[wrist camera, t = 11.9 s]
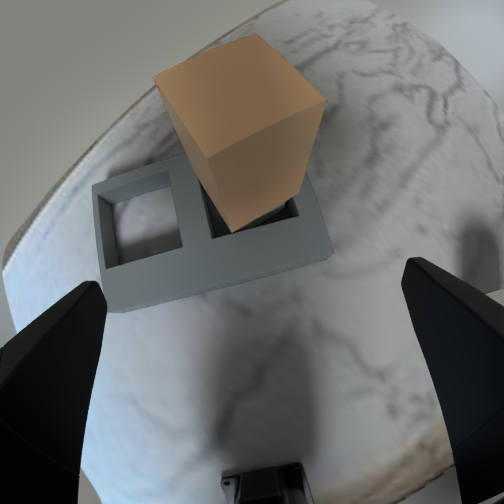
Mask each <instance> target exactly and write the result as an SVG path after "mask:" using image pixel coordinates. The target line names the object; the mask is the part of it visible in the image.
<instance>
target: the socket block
mask: <svg viewBox="0 0 504 504" xmlns="http://www.w3.org/2000/svg"><path fill="white" fill-rule="evenodd" d="M170 185H171V189H172V194H173V199H174V205H175V210H176V215H177V220H178V225H179V230H180V235H181V239H182V244H183V247H182V248H178V249H175V250H171V251H168V252H164V253H161V254H157V255H154V256H150V257H147V258H143V259H140V260H136V261H133V262H129V263H126V264H123V265H119V262H118V256H117V249H116V242H115V234H114V226H113V218H112V209H111V205H113V204H116V203H119V202H121V201H124V200H127V199H130V198H133V197H136V196H139V195H142V194H145V193H148V192H151V191H154V190H157V189H161V188H164V187H167V186H170ZM92 200H93V214H94V225H95V235H96V244H97V252H98V260H99V267H100V274H101V280H102V286H103V292H104V297H105V299H106V301H107V306H108V309H107V312H109V313H124V312H128V311H133V310H137V309H141V308H145V307H149V306H153V305H157V304H161V303H165V302H169V301H174V300H177V299H181V298H185V297H189V296H193V295H197V294H201V293H205V292H209V291H213V290H217V289H220V288H224V287H228V286H232V285H236V284H239V283H243V282H247V281H251V280H254V279H258V278H262V277H265V276H269V275H273V274H276V273H280V272H283V271H287V270H291V269H294V268H298V267H301V266H305V265H308V264H312V263H315V262H319V261H322V260H326V259H327V258H329V257H330V256H331V255H332V254H333V253H334V251H333V247H332V244H331V241H330V238H329V235H328V232H327V229H326V226H325V223H324V220H323V217H322V214H321V211H320V208H319V205H318V203H317V200H316V197H315V194H314V191H313V189H312V186H311V183H310V180H309V178H308V175H307V172H306V171H305V175H304V178H303V181H302V184H301V187H300V191H299V194H297V195H295V196H294V197H292V198H290V199H289V200H287V202H288V205H289V208H290V211H291V214H292V217H293V218H290V219H286V220H282V221H278V222H275V223H271V224H267V225H263V226H259V227H255V228H252V229H248V230H244V231H240V232H237V233H233V234H229V235H226V236H222V237H218V238H215V237H214V232H213V228H212V224H211V220H210V216H209V212H208V207H207V203H206V199H205V195H204V190H203V186H202V184H201V182H200V181H199V179H198V177H197V176H196V174H195V172H194V170H193V168H192V166H191V163H190V161H189V159H188V157H187V155H186V153H183V154H180V155H177V156H174V157H170V158H167V159H164V160H161V161H158V162H155V163H152V164H149V165H146V166H143V167H140V168H137V169H134V170H131V171H128V172H126V173H123V174H120V175H117V176H115V177H112V178H109V179H107V180H104V181H102V182H99V183H97V184H94V185H92Z"/></svg>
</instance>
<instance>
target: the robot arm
mask: <svg viewBox="0 0 504 504" xmlns="http://www.w3.org/2000/svg"><path fill="white" fill-rule="evenodd" d="M401 286H402V291H403V294H404V297H405V300H406V303H407V307H408V310H409V314H410V317H411V321H412V324H413V327H414V331H415V333H416V336H417V339H418V341H419V344H420V347H421V349H422V352H423V355H424V358H425V360H426V363H427V366H428V369H429V372H430V375H431V378H432V381H433V384H434V387H435V390H436V393H437V397H438V400H439V403H440V406H441V410H442V413H443V417H444V421H445V424H446V428H447V432H448V436H449V440H450V444H451V448H452V451H453V452H452V453H453V458H454V462H455V467H456V472H457V477H458V483H459V488H460V494H461V500H462V504H478V503H480V502H483V501H485V500H487V499H490V498H491V497H494V496H496V495H498V494H501V493H503V492H504V306H503V305H501V304H500V303H498V302H496V301H495V300H493V299H492V298H490V297H489V296H487V295H485V294H484V293H482V292H480V291H479V290H477V289H476V288H474V287H472V286H471V285H469V284H467V283H466V282H464V281H462V280H461V279H459V278H457V277H456V276H454V275H452V274H450V273H449V272H447V271H445V270H443V269H442V268H440V267H438V266H436V265H435V264H433V263H431V262H429V261H427V260H426V259H424V258H422V257H413V258H409V259H408V260H407V262H406V266H405V269H404V273H403V277H402V281H401ZM107 309H108V306H107V301H106V299H105V297H104V294H103V292H102V290H101V288H100V285H99V283H98V282H97V281H84V282H83V283H81V284H80V285H78V286H77V287H76V288H74V289H73V290H72V291H71V292H69V293H68V294H67V295H65V296H64V297H63V298H61V299H60V300H59V301H57V302H56V303H55V304H54V305H52V306H51V307H50V308H49V309H47V310H46V311H45V312H43V313H42V314H41V315H40V316H39V317H37V318H36V319H35V320H34V321H32V322H31V323H30V324H29V325H27V326H26V327H25V328H24V329H23V330H21V331H20V332H19V333H18V334H17V335H16V336H14V337H13V338H12V339H11V340H10V341H8V342H7V343H6V344H5V345H4V347H1V348H0V504H78V488H79V477H80V476H79V474H80V465H81V456H82V448H83V441H84V434H85V427H86V421H87V415H88V410H89V404H90V399H91V394H92V389H93V384H94V379H95V375H96V370H97V366H98V362H99V357H100V353H101V347H102V340H103V334H104V327H105V321H106V315H107ZM295 467H299V469H297V470H294V468H295ZM225 481H228V482H230V483H225ZM221 486H222V489H223V491H224V493H225V496H226V498H227V500H228V503H229V504H313V501H312V498H311V494H310V491H309V487H308V484H307V480H306V477H305V473H304V470H303V467H302V464H300V463H298V462H296V463H291V464H287V465H283V466H279V467H269V468H264V469H259V470H254V471H249V472H244V473H242V474H239V475H233V476H226V477H223V478H222V479H221ZM493 504H504V497H502V498H501V499H499V500H497V501H496V502H495V503H493Z"/></svg>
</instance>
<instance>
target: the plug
mask: <svg viewBox="0 0 504 504" xmlns="http://www.w3.org/2000/svg"><path fill="white" fill-rule="evenodd" d="M153 79H154V81H155V84H156V86H157V88H158V91H159V93H160V95H161V98H162V100H163V102H164V105H165V107H166V109H167V112H168V114H169V116H170V118H171V121H172V123H173V125H174V127H175V130H176V132H177V134H178V137H179V139H180V141H181V143H182V146H183V148H184V150H185V152H186V155H187V157H188V159H189V161H190V163H191V166H192V168H193V170H194V172H195V174H196V176H197V177H198V179H199V181H200V182H201V184H202V185H203V187H204V189H205V190H206V192H207V194H208V195H209V197H210V198H211V200H212V202H213V203H214V205H215V207H216V208H217V210H218V211H219V213H220V215H221V216H222V218H223V219H224V221H225V223H226V224H227V226H228V227H229V229H230V231H231V232H232V233H233V232H234V231H236V233H237V232H240V231H244V230H248V229H251V228H253V227H255V226H256V225H258V224H260V223H261V222H263V221H265V220H266V219H268V218H270V217H271V216H273V215H275V214H276V213H278V212H280V211H282V210H283V209H284V206H285V202H286V201H287V200H289V199H290V198H292V197H294V196H295V195H297V194H299V191H300V187H301V184H302V181H303V178H304V175H305V171H306V168H307V165H308V162H309V159H310V155H311V152H312V149H313V145H314V142H315V139H316V136H317V132H318V129H319V126H320V122H321V119H322V115H323V112H324V109H325V105H326V102H327V99H326V98H325V97H324V96H323V95H322V94H321V93H320V92H319V91H318V90H317V89H316V88H315V87H314V86H313V85H312V84H311V83H310V82H309V81H308V80H307V79H306V78H305V77H304V76H303V75H302V74H301V73H300V72H299V71H298V70H297V69H296V68H295V67H294V66H293V65H291V64H290V63H289V62H288V61H287V60H286V59H285V58H284V57H283V56H282V55H281V54H279V53H278V52H277V51H276V50H275V49H274V48H273V47H271V46H270V45H269V44H268V43H267V42H266V41H264V40H263V39H262V38H261V37H260V36H258V35H257V34H256V33H255V34H252V35H249V36H246V37H243V38H240V39H237V40H235V41H232V42H229V43H227V44H224V45H222V46H219V47H217V48H214V49H212V50H209V51H207V52H205V53H202V54H200V55H198V56H195V57H193V58H191V59H189V60H187V61H184V62H182V63H180V64H178V65H176V66H174V67H172V68H170V69H168V70H166V71H164V72H162V73H160V74H158V75H156V76H154V77H153Z"/></svg>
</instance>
